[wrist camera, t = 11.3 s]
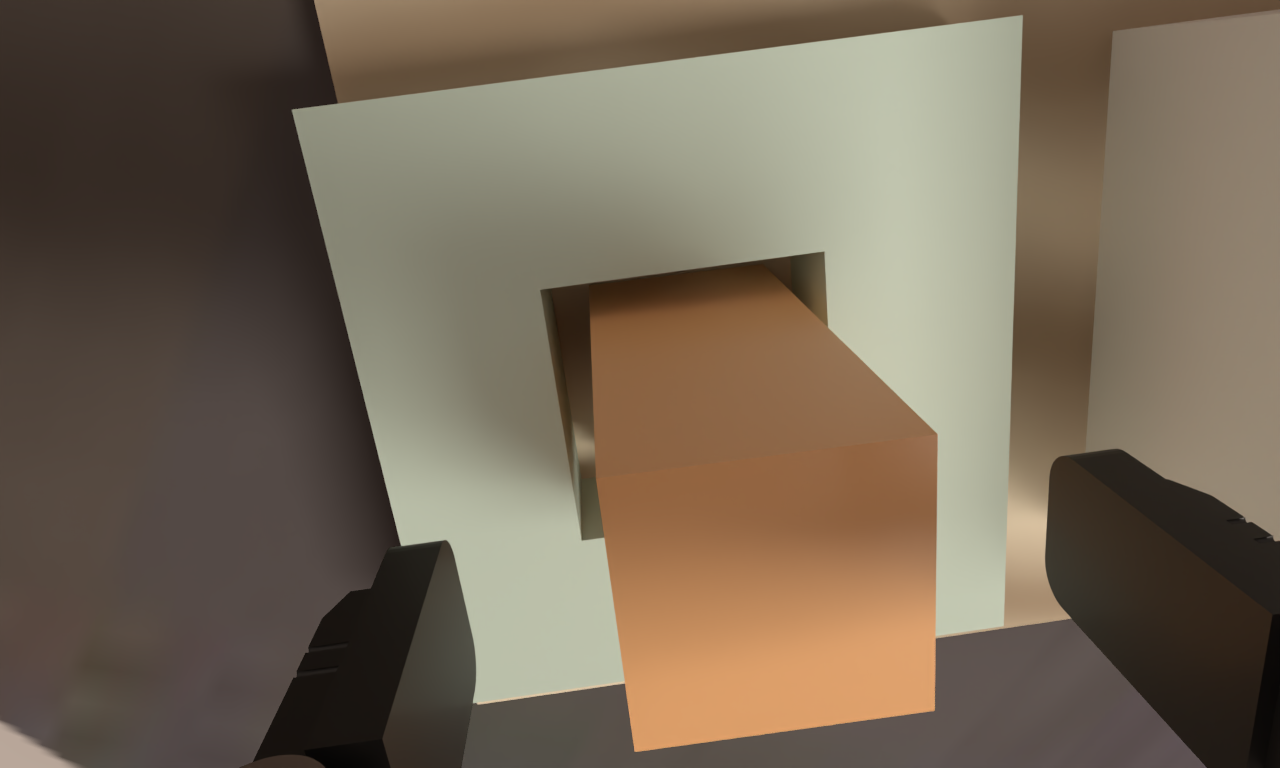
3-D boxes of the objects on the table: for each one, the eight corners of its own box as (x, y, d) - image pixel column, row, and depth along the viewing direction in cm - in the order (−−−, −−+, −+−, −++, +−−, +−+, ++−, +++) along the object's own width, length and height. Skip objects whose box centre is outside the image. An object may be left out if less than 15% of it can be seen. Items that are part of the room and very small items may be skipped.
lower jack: (338, 106, 17) (291, 110, 15) (952, 26, 18) (1022, 15, 15) (459, 627, 22) (441, 707, 19) (949, 557, 22) (1003, 625, 19)
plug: (588, 285, 19) (595, 477, 10) (762, 263, 19) (937, 433, 10) (614, 474, 21) (641, 798, 11) (774, 454, 21) (934, 758, 11)
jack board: (322, -20, 18) (307, -27, 17) (1659, -189, 18) (1719, -204, 17) (481, 680, 24) (477, 704, 23) (1478, 535, 24) (1515, 554, 23)
